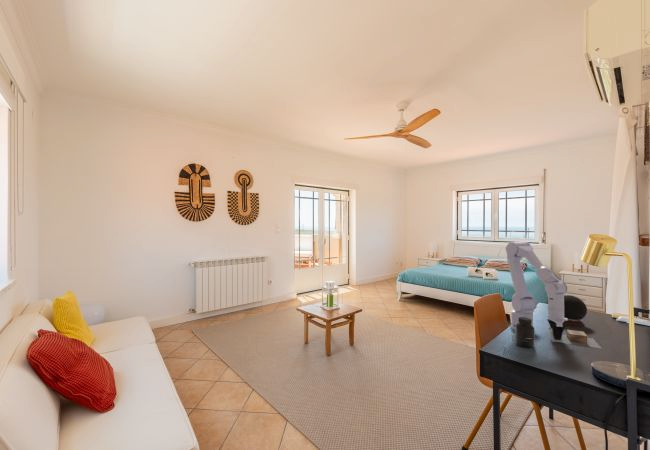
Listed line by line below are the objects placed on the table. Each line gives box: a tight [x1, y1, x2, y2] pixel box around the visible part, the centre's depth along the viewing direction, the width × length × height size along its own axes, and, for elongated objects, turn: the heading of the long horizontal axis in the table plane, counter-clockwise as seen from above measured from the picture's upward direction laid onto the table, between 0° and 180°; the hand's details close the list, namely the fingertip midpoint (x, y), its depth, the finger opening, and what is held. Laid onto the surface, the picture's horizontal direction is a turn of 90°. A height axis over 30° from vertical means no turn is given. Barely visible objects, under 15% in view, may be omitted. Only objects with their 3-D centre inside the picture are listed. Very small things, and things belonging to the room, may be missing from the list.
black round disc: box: [562, 294, 588, 328], centre depth 156 cm, size 13×13×15 cm
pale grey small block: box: [548, 327, 563, 343], centre depth 135 cm, size 4×4×5 cm
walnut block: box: [566, 329, 588, 344], centre depth 134 cm, size 6×6×4 cm
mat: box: [559, 334, 602, 349], centre depth 134 cm, size 14×12×1 cm
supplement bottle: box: [515, 317, 535, 349], centre depth 130 cm, size 7×7×12 cm
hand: (556, 337), depth 135 cm, fingers closed on pale grey small block, 4 cm apart
